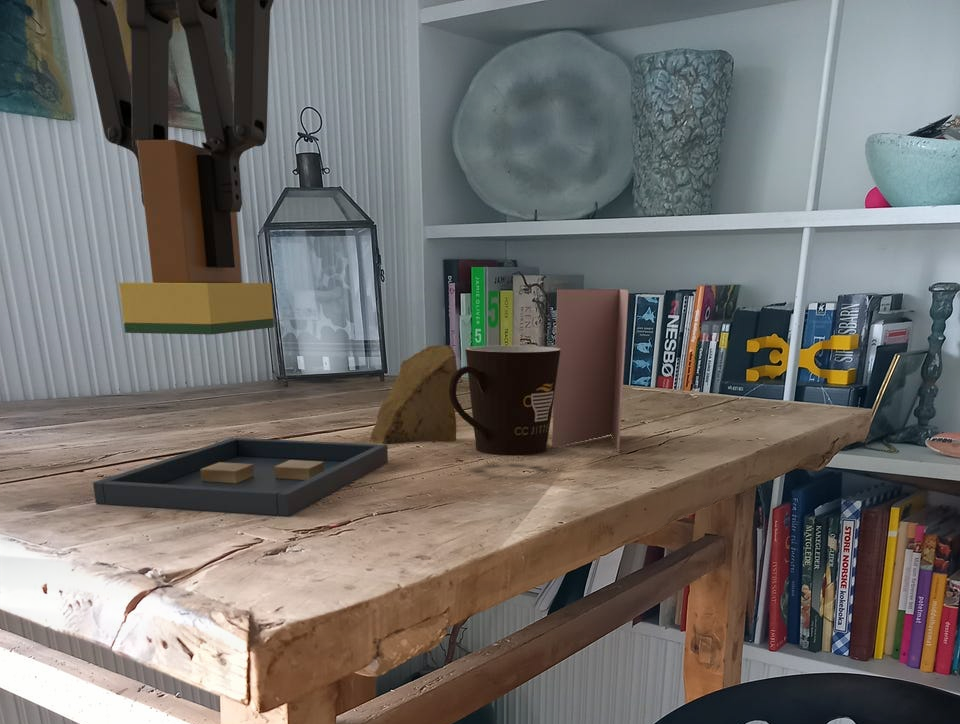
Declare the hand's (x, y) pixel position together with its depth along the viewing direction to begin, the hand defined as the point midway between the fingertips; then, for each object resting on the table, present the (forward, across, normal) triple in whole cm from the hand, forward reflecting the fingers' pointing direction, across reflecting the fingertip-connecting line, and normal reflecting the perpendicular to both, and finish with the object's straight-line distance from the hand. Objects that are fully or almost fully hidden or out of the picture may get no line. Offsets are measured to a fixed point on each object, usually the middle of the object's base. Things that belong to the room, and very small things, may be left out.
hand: (198, 266), depth 62 cm
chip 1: (+16, +2, -6) cm, 17 cm away
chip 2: (+16, -3, -8) cm, 18 cm away
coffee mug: (+17, -16, -24) cm, 34 cm away
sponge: (+4, 0, 0) cm, 4 cm away
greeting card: (+17, -26, -36) cm, 47 cm away
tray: (+17, 0, -6) cm, 18 cm away
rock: (+17, -6, -31) cm, 36 cm away
